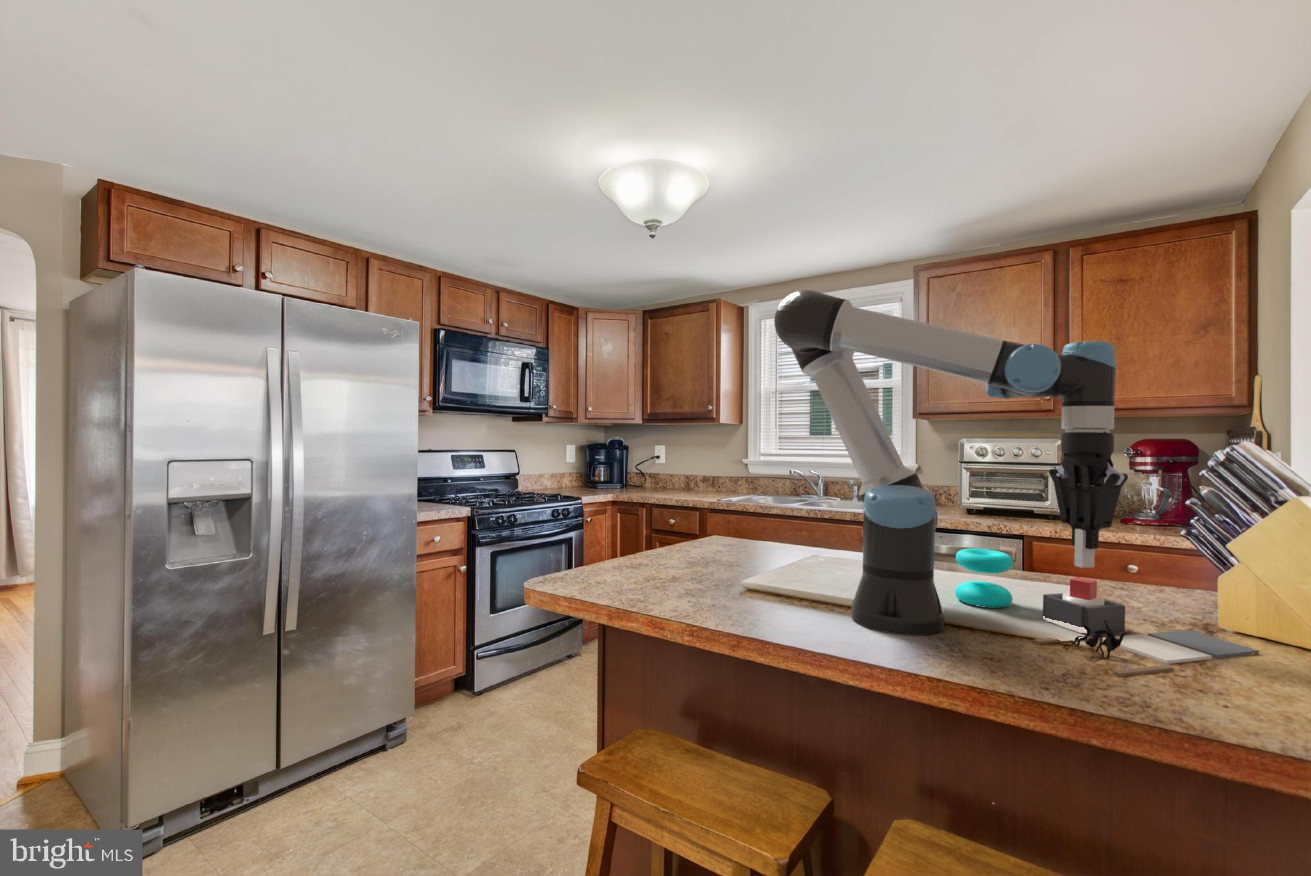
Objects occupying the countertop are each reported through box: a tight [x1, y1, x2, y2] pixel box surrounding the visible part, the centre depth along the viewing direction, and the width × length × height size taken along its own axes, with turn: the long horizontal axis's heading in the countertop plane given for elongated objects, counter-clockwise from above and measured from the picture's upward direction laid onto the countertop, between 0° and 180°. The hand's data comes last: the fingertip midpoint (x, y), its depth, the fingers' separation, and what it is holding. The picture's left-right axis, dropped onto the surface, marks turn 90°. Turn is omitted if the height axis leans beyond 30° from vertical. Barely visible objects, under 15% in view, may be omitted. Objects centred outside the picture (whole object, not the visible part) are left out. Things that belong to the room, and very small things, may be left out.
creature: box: [1063, 620, 1130, 663], centre depth 93 cm, size 8×5×8 cm
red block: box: [1062, 576, 1105, 607], centre depth 107 cm, size 6×6×6 cm
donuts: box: [954, 548, 1014, 608], centre depth 121 cm, size 10×10×10 cm
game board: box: [1032, 592, 1260, 677], centre depth 100 cm, size 30×23×4 cm
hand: (1084, 566), depth 107 cm, fingers closed
